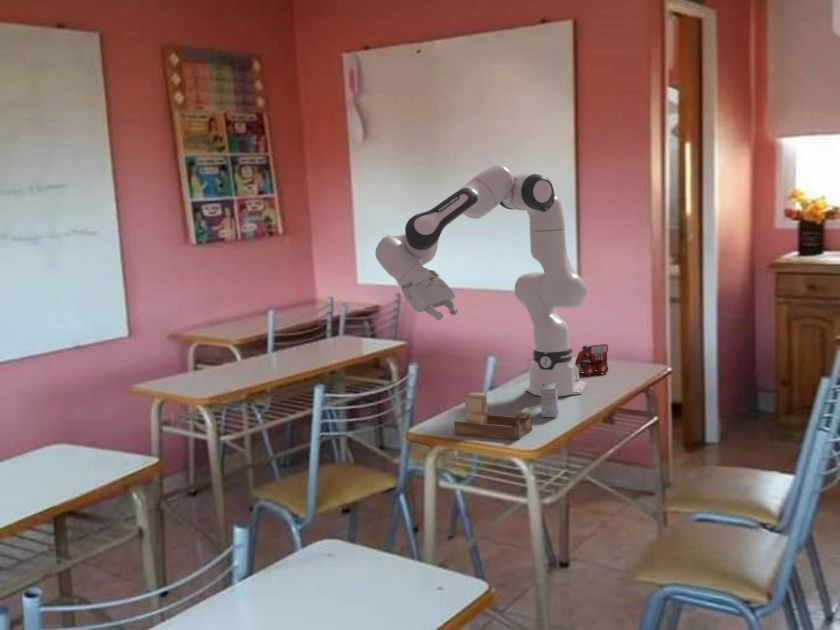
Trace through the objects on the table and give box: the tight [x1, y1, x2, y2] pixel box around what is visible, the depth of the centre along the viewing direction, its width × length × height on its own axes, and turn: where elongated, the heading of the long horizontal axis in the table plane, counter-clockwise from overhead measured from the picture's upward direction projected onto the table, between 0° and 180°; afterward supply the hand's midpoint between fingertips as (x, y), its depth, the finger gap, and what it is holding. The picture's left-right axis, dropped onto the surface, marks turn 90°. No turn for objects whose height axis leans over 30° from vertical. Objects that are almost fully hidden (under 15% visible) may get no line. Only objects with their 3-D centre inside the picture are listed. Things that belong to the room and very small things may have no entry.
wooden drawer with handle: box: [453, 407, 533, 441], centre depth 254 cm, size 10×19×7 cm, turn 62°
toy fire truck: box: [574, 343, 609, 376], centre depth 323 cm, size 7×12×10 cm, turn 106°
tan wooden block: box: [464, 391, 488, 424], centre depth 256 cm, size 4×4×10 cm
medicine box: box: [540, 383, 559, 419], centre depth 270 cm, size 8×4×9 cm, turn 168°
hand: (448, 316), depth 263 cm, fingers open, 8 cm apart
